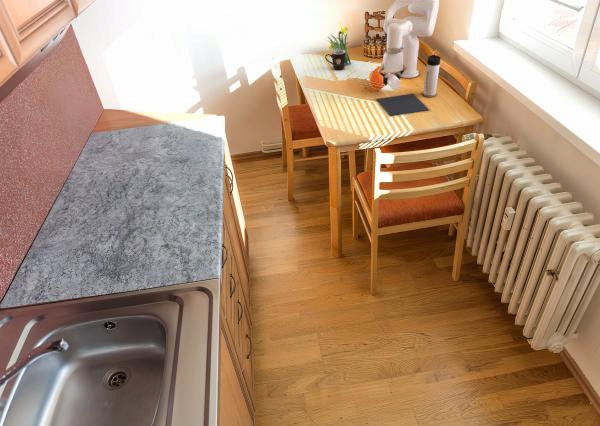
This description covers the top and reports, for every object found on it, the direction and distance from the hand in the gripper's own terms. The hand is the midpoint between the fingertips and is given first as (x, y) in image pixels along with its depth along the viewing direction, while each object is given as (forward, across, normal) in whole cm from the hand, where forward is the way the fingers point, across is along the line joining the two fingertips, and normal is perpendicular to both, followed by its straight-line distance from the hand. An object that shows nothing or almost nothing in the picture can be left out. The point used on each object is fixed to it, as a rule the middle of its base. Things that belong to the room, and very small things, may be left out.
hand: (391, 83), depth 239 cm
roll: (+1, 0, 0) cm, 1 cm away
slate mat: (+5, 0, +16) cm, 17 cm away
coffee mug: (+5, +19, -44) cm, 48 cm away
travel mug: (+5, -18, +9) cm, 21 cm away
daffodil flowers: (+5, +10, -61) cm, 62 cm away
